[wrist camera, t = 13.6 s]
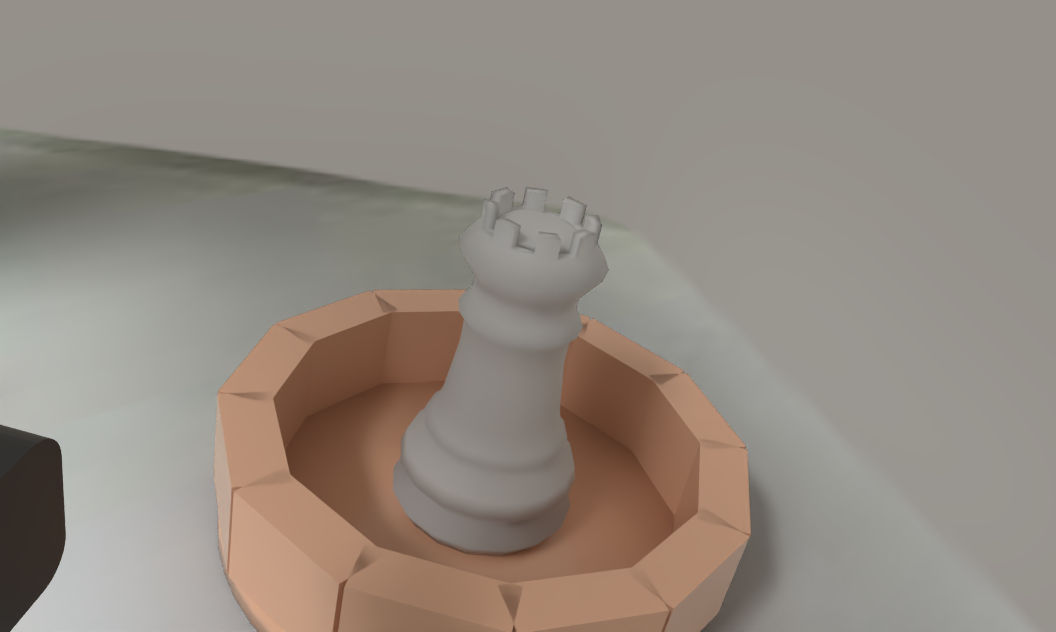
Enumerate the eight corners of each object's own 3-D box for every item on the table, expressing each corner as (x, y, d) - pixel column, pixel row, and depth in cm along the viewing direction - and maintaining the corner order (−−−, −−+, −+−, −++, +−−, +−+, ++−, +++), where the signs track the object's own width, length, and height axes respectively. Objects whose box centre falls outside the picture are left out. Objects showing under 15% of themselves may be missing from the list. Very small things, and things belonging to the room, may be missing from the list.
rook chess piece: (571, 465, 26) (646, 195, 23) (559, 584, 23) (648, 283, 19) (409, 429, 26) (456, 153, 22) (369, 543, 23) (417, 232, 19)
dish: (111, 638, 20) (109, 521, 18) (325, 341, 31) (334, 251, 29) (707, 808, 19) (758, 701, 18) (711, 443, 30) (743, 357, 28)
